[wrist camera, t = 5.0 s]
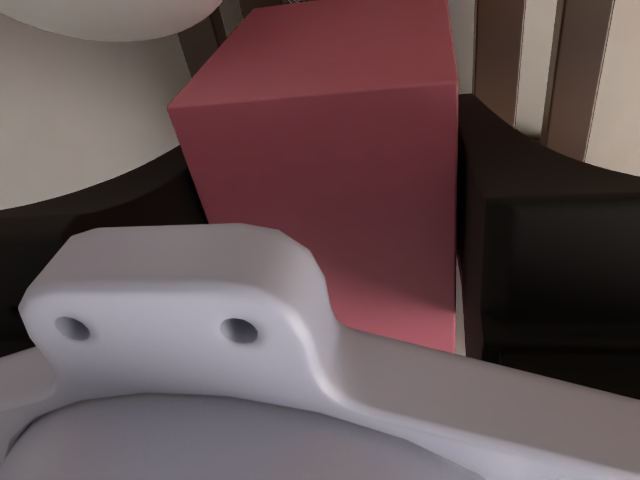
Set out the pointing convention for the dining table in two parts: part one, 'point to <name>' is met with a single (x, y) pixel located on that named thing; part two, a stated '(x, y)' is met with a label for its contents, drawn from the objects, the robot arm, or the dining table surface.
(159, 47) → the dining table surface
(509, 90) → the rack
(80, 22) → the pill bottle
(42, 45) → the dining table surface
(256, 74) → the pink box
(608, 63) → the dining table surface
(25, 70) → the dining table surface
